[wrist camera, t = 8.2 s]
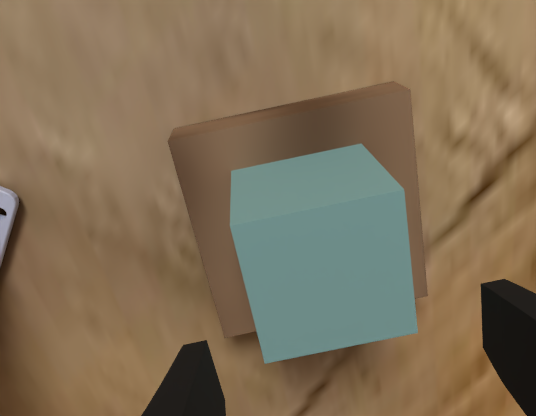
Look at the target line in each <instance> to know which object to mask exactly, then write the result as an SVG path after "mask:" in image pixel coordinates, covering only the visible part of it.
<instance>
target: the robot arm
mask: <svg viewBox="0 0 536 416" xmlns="http://www.w3.org/2000/svg"><path fill="white" fill-rule="evenodd" d="M18 206H19V199H18V196H17V195H16V194H15V193H14V192H13V191H11V190H9V189H6V188H4V187H1V186H0V208H2V209H4V210H5V211H6V214H7V216H4V215H1V214H0V267H1V264H2V260H3V257H4V253H5V250H6V247H7V243H8V240H9V236H10V233H11V230H12V226H13V223H14V219H15V216H16V212H17V209H18ZM481 304H482V334H483V348H484V350H485V352H486V354H487V356H488V358H489V359H490V361H491V363H492V365H493V367H494V369H495V370H496V372H497V374H498V375H499V377H500V379H501V381H502V382H503V384H504V385H505V387H506V388H507V389H508V391H509V392H510V394H511V395H512V396H513V398H514V399H515V400H516V402H517V403H518V404H519V406H520V407H521V409H522V410H523V411H524V413H525V414H526V415H527V416H536V294H535V293H533V292H531V291H529V290H527V289H525V288H523V287H521V286H519V285H517V284H515V283H513V282H510V281H508V280H506V279H502V280H497V281H492V282H487V283H482V284H481ZM141 416H226V411H225V398H224V395H223V392H222V389H221V385H220V382H219V379H218V376H217V373H216V369H215V366H214V363H213V360H212V356H211V353H210V350H209V347H208V343H207V340H205V341H200V342H196V343H191V344H186V345H183V347H182V348H181V350H180V351H179V353H178V355H177V357H176V358H175V360H174V362H173V364H172V366H171V367H170V369H169V371H168V373H167V374H166V376H165V378H164V380H163V381H162V383H161V385H160V386H159V388H158V390H157V391H156V393H155V395H154V396H153V398H152V400H151V401H150V403H149V404H148V406H147V408H146V409H145V411H144V412H143V414H142V415H141Z"/></svg>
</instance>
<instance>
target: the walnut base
mask: <svg viewBox="0 0 536 416" xmlns="http://www.w3.org/2000/svg"><path fill="white" fill-rule="evenodd" d="M361 143H362V145H363V146H364V147H365V148H366V149H367V150H368V151H369V152H370V153H371V154H372V155H373V156H374V158H375V159H376V160H377V161H378V162H379V163H380V164H381V165H382V166H383V167H384V168H385V169H386V170H387V172H388V173H389V174H390V175H391V176H392V177H393V178H394V179H395V180H396V181H397V182H398V183H399V185H400V186H401V187H402V188H403V189H404V193H405V203H406V214H407V224H408V235H409V245H410V256H411V267H412V277H413V288H414V298H415V299H416V298H421V297H426V296H428V294H427V282H426V270H425V258H424V246H423V235H422V223H421V211H420V199H419V187H418V175H417V164H416V152H415V140H414V128H413V116H412V104H411V93H410V89H408V88H406V87H404V86H402V85H400V84H398V83H396V82H389V83H384V84H380V85H375V86H370V87H366V88H361V89H356V90H352V91H347V92H342V93H338V94H333V95H328V96H324V97H319V98H314V99H310V100H305V101H300V102H296V103H291V104H286V105H282V106H277V107H272V108H268V109H263V110H258V111H254V112H249V113H245V114H240V115H235V116H231V117H226V118H221V119H217V120H212V121H207V122H203V123H198V124H193V125H189V126H184V127H179V128H175V129H174V130H173V132H172V134H171V136H170V138H169V140H168V144H169V147H170V151H171V154H172V158H173V161H174V165H175V168H176V171H177V175H178V178H179V182H180V185H181V189H182V192H183V196H184V199H185V202H186V206H187V209H188V213H189V216H190V220H191V223H192V227H193V230H194V233H195V237H196V240H197V244H198V247H199V251H200V254H201V258H202V261H203V264H204V268H205V271H206V275H207V278H208V282H209V285H210V289H211V292H212V295H213V299H214V302H215V306H216V309H217V313H218V316H219V320H220V323H221V326H222V330H223V333H224V337H225V338H226V337H231V336H236V335H241V334H246V333H251V332H256V327H255V323H254V319H253V315H252V311H251V307H250V303H249V299H248V295H247V291H246V288H245V284H244V280H243V276H242V272H241V268H240V264H239V260H238V256H237V252H236V248H235V244H234V240H233V236H232V232H231V228H230V200H231V171H233V170H237V169H242V168H247V167H252V166H256V165H261V164H266V163H271V162H275V161H280V160H285V159H290V158H295V157H299V156H304V155H309V154H314V153H318V152H323V151H328V150H333V149H337V148H342V147H347V146H352V145H356V144H361Z"/></svg>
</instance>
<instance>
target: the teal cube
mask: <svg viewBox="0 0 536 416" xmlns="http://www.w3.org/2000/svg"><path fill="white" fill-rule="evenodd" d="M230 228H231V232H232V236H233V240H234V244H235V248H236V252H237V256H238V260H239V264H240V268H241V272H242V276H243V280H244V284H245V288H246V291H247V295H248V299H249V303H250V307H251V311H252V315H253V319H254V323H255V327H256V331H257V335H258V339H259V343H260V347H261V350H262V354H263V358H264V362H265V364H266V363H271V362H276V361H281V360H286V359H290V358H295V357H300V356H305V355H310V354H315V353H320V352H325V351H330V350H335V349H340V348H345V347H350V346H355V345H360V344H365V343H370V342H375V341H379V340H384V339H389V338H394V337H399V336H404V335H409V334H414V333H418V330H417V319H416V309H415V298H414V288H413V277H412V267H411V256H410V245H409V235H408V224H407V214H406V203H405V193H404V189H403V188H402V187H401V186H400V185H399V183H398V182H397V181H396V180H395V179H394V178H393V177H392V176H391V175H390V174H389V173H388V172H387V170H386V169H385V168H384V167H383V166H382V165H381V164H380V163H379V162H378V161H377V160H376V159H375V158H374V156H373V155H372V154H371V153H370V152H369V151H368V150H367V149H366V148H365V147H364V146H363V145H362V143H361V144H356V145H352V146H347V147H342V148H337V149H333V150H328V151H323V152H318V153H314V154H309V155H304V156H299V157H295V158H290V159H285V160H280V161H275V162H271V163H266V164H261V165H256V166H252V167H247V168H242V169H237V170H233V171H231V200H230Z"/></svg>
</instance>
